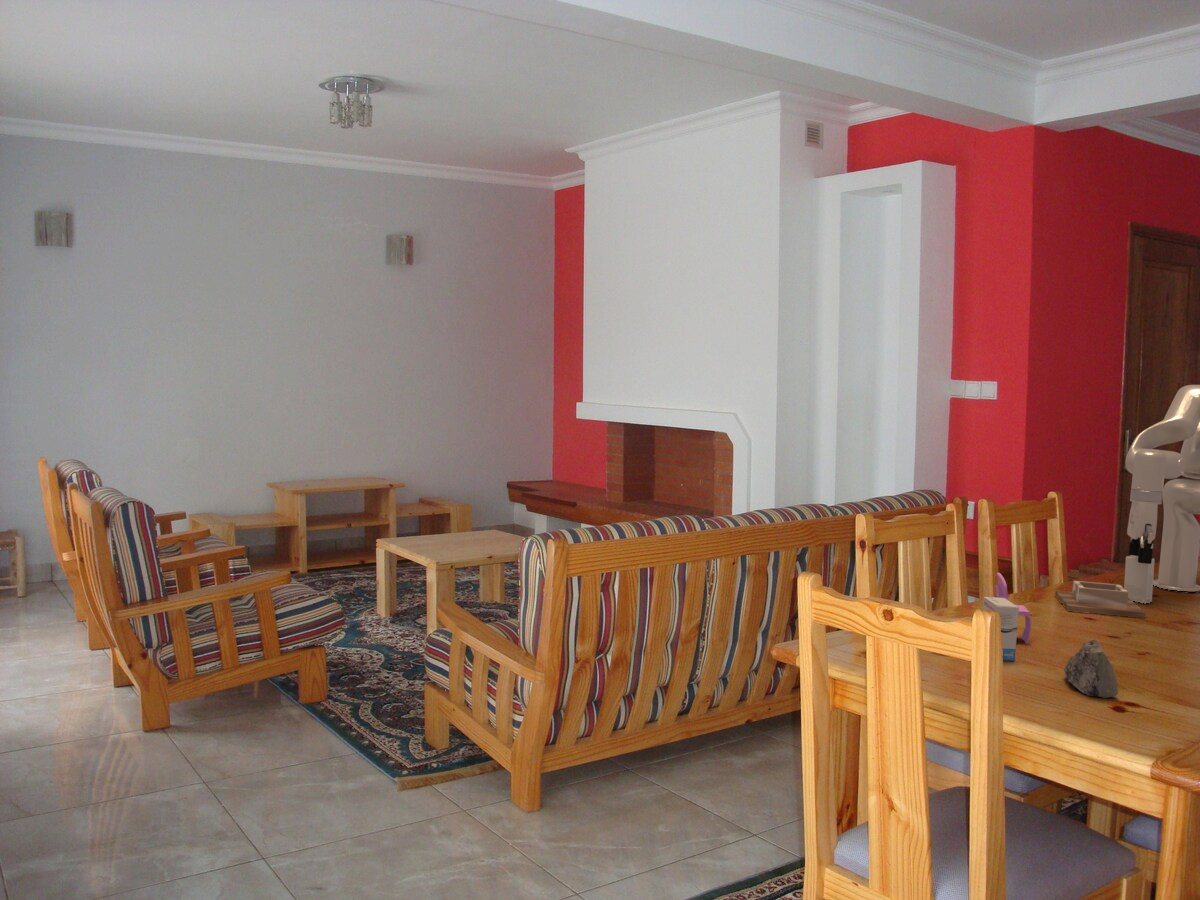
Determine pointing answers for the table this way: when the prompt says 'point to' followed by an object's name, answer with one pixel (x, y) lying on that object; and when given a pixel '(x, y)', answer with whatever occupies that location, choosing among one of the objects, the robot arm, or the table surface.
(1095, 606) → the collar plate
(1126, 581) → the skincare box
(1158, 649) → the table surface
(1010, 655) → the ink box
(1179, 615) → the table surface
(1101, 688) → the mineral rock
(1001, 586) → the toy chair
